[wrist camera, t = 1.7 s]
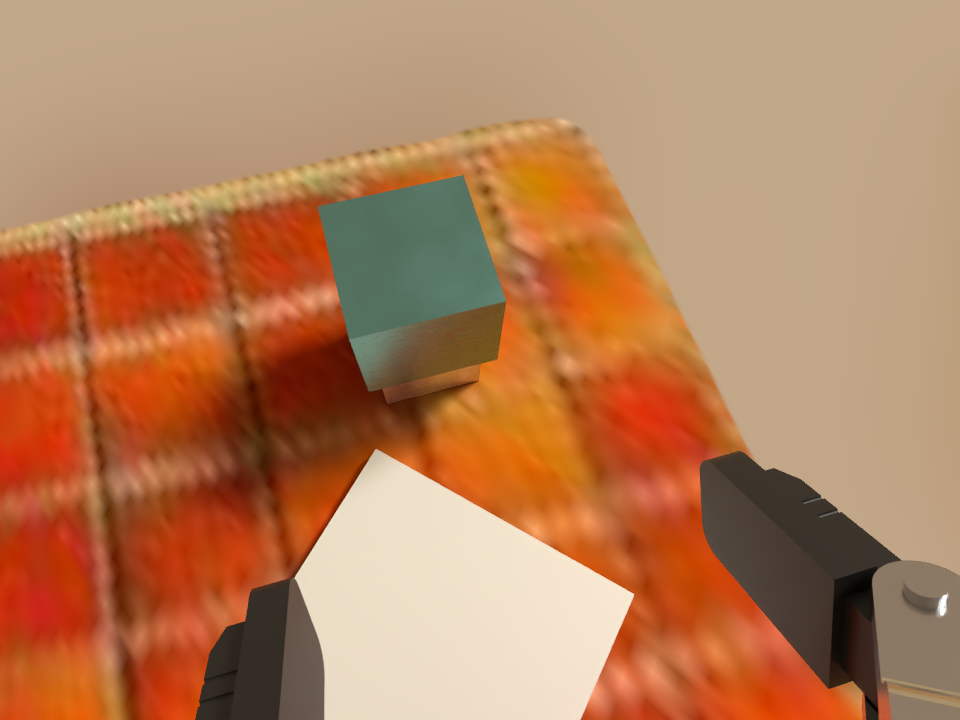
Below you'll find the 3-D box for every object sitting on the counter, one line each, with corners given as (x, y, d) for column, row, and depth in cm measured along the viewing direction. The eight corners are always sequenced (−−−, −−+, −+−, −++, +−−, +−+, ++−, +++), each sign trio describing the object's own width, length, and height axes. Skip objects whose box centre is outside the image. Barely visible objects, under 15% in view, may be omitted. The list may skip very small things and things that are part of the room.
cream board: (233, 684, 29) (226, 686, 28) (378, 453, 33) (375, 448, 32) (511, 866, 27) (513, 875, 26) (629, 595, 31) (634, 594, 30)
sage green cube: (368, 392, 30) (349, 339, 25) (341, 278, 32) (318, 206, 27) (497, 359, 31) (505, 301, 25) (462, 250, 33) (463, 175, 28)
